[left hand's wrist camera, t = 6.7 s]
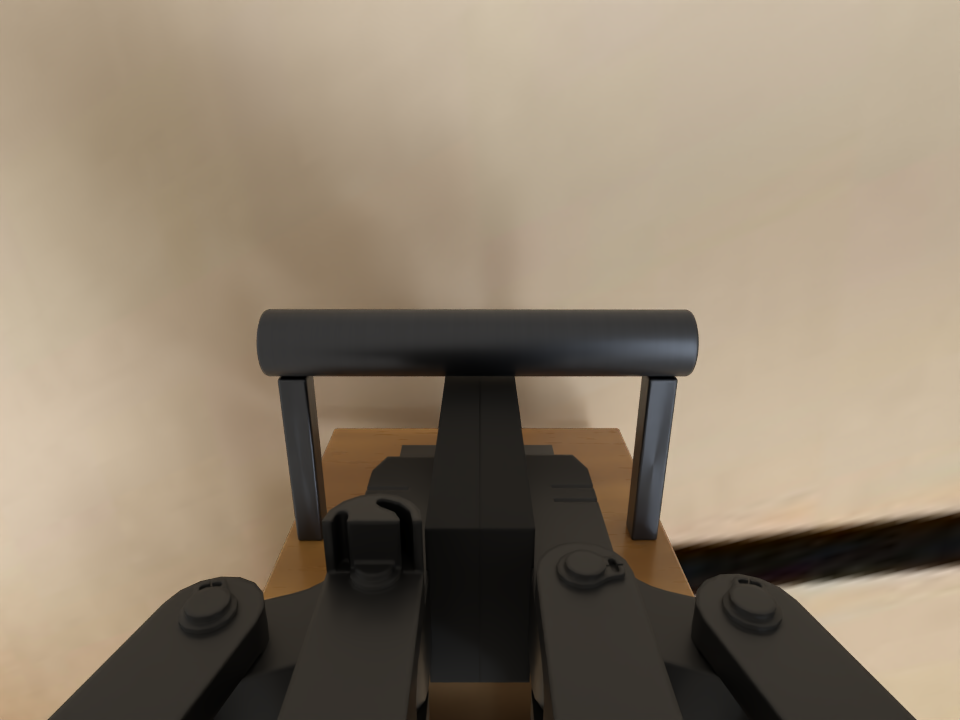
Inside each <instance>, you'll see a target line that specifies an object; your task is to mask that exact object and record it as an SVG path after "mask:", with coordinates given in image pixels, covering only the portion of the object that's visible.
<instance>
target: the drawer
mask: <svg viewBox="0 0 960 720" xmlns="http://www.w3.org/2000/svg"><path fill="white" fill-rule="evenodd" d="M698 347H699V337H698V329H697V324H696V320H695V318H694V315H693V314H692V313H691V312H690V311H688V310H392V309H269V310H266V311H264V312H263V314H262V315H261V318H260V321H259V324H258V330H257V354H258V360H259V364H260V367H261V369H262V371H263V373H264V374H266V375H268V376H280V378H279V379H278V386H279V394H280V402H281V410H282V418H283V426H284V434H285V442H286V449H287V457H288V465H289V473H290V481H291V489H292V497H293V505H294V513H295V520H294V523H293V525H292V527H291V530H290V532H289V534H288V536H287V539H286V541H285V543H284V545H283V548H282V550H281V552H280V554H279V557H278V559H277V561H276V564H275V566H274V568H273V570H272V573H271V575H270V577H269V579H268V582H267V584H266V586H265V589H264V591H263V595H264V600H266V599H270V598H275V597H279V596H283V595H288V594H292V593H296V592H299V591H302V590H305V589H308V588H311V587H313V586H315V585H317V584H319V583H321V582H323V581H324V579H325V576H326V573H327V570H326V560H325V551H324V541H323V532H322V522H321V521H322V520H323V518H324V517H325V516H326V514H327V513H328V511H329V510H330V509H332V508H334V507H335V506H337V505H338V504H340V503H341V502H343V501H345V500H348V499H351V498H354V497H357V496H360V495H365V492H366V490H367V486H368V483H369V479H370V476H371V473H372V470H373V469H374V468H376V467H377V466H378V465H379V464H380V463H381V462H382V461H383V460H384V459H385V458H386V457H387V456H435V449H436V442H437V434H438V428H337V429H335V430H334V432H333V434H332V436H331V439H330V441H329V443H328V445H327V448H326V450H325V452H324V455H323V457H322V459H321V449H320V439H319V430H318V420H317V410H316V401H315V391H314V381H313V376H642V382H641V391H640V400H639V410H638V419H637V428H636V438H635V447H634V456H633V459H632V457H631V455H630V453H629V450H628V448H627V446H626V444H625V442H624V439H623V437H622V435H621V433H620V430H619V429H617V428H522V435H523V442H524V450H525V455H574V456H575V457H576V458H577V459H578V460H579V461H580V462H581V463H582V464H583V465H584V466H586V467H587V468H588V471H589V474H590V477H591V480H592V484H593V488H594V490H595V493H596V496H597V502H598V503H599V506H600V509H601V512H602V516H603V519H604V522H605V525H606V528H607V532H608V535H609V538H610V541H611V544H612V548H613V551H614V552H616V553H617V554H618V555H620V556H621V557H622V558H624V559H625V560H626V561H627V563H628V564H629V566H630V568H631V569H632V571H633V573H634V576H635V578H637V579H638V580H640V581H642V582H644V583H646V584H648V585H651V586H653V587H656V588H660V589H663V590H666V591H670V592H675V593H679V594H683V595H688V596H692V597H694V594H693V592H692V590H691V588H690V586H689V583H688V581H687V579H686V577H685V574H684V572H683V570H682V568H681V566H680V563H679V561H678V559H677V557H676V555H675V552H674V550H673V548H672V546H671V543H670V541H669V539H668V537H667V535H666V532H665V530H664V528H663V526H662V524H661V521H660V512H661V504H662V496H663V488H664V481H665V473H666V465H667V458H668V450H669V442H670V435H671V427H672V419H673V412H674V404H675V396H676V389H677V378H676V377H675V376H688V375H690V374H691V373H692V371H693V370H694V367H695V365H696V361H697V356H698ZM531 689H532V686H531V676H530V683H479V682H430V678H429V715H430V716H429V720H530V715H531Z"/></svg>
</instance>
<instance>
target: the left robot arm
mask: <svg viewBox="0 0 960 720" xmlns="http://www.w3.org/2000/svg"><path fill="white" fill-rule="evenodd" d="M321 522H322V532H323V541H324V551H325V560H326V570H327V573H326V576H325V579H324V581H323V582H321V583H319V584H317V585H315V586H313V587H311V588H308V589H305V590H302V591H299V592H296V593H292V594H288V595H283V596H279V597H275V598H270V599H266V600H264V595H263V592H262V591H261V590H260V588H259V587H258V586H257V585H256V584H255V583H254V582H251V581H249V580H246V579H243V578H241V577H218V578H213V579H208V580H204V581H200V582H198V583H196V584H193V585H191V586H189V587H187V588H185V589H182V590H180V591H179V592H178V593H176V594H175V595H174V596H173V597H171V598H170V599H169V600H167V601H166V602H165V603H164V604H163V605H162V606H161V607H160V608H159V609H158V610H157V611H156V612H155V613H154V614H153V615H152V616H151V617H150V618H149V619H148V620H147V621H146V622H145V623H144V624H143V625H142V626H141V627H140V628H139V629H138V630H137V631H136V632H135V633H134V634H133V635H132V636H131V637H130V638H129V639H128V640H127V641H126V642H125V643H124V644H123V645H122V646H121V647H120V648H119V649H118V650H117V651H116V652H115V653H114V654H113V655H112V656H111V657H110V658H109V659H108V660H107V661H106V662H105V663H104V664H103V665H102V666H101V667H100V668H99V669H98V670H97V671H96V672H95V673H94V674H93V675H92V676H91V677H90V678H89V679H88V680H87V681H86V682H85V683H84V684H83V685H82V686H81V687H80V688H79V689H78V690H77V691H76V692H75V693H74V694H73V695H72V696H71V697H70V698H69V699H68V700H67V701H66V702H65V703H64V704H63V705H62V706H61V707H60V708H59V709H58V710H57V711H56V712H55V713H54V714H53V715H52V716H51V717H50V718H49V719H48V720H429V716H430V715H429V678H430V682H479V683H530V676H531V686H532V689H531V715H530V720H916V719H915V718H914V717H913V716H912V715H911V714H910V713H909V712H908V711H907V710H906V709H905V708H904V707H903V706H902V705H901V704H900V703H899V702H898V701H897V700H896V699H895V698H894V697H893V696H892V695H891V694H890V693H889V692H888V691H887V690H886V689H885V688H884V687H883V686H882V685H881V684H880V683H879V682H878V681H877V680H876V679H875V678H874V677H873V676H872V675H871V674H870V673H869V672H868V671H867V670H866V669H865V668H864V667H863V666H862V665H861V664H860V663H859V662H858V661H857V660H856V659H855V658H854V657H853V656H852V655H851V654H850V653H849V652H848V651H847V650H846V649H845V648H844V647H843V646H842V645H841V644H840V643H839V642H838V641H837V640H836V639H835V638H834V637H833V636H832V635H831V634H830V633H829V632H828V631H827V630H826V629H825V628H824V627H823V626H822V625H821V624H820V623H819V622H818V621H817V620H816V619H815V618H814V617H813V616H812V615H811V614H810V613H809V612H808V611H807V610H806V609H805V608H804V607H803V606H802V605H801V604H800V603H799V602H798V601H797V600H796V599H794V598H793V597H792V596H790V595H789V594H788V593H786V592H785V591H784V590H782V589H781V588H780V587H777V586H775V585H773V584H771V583H769V582H766V581H764V580H762V579H760V578H755V577H750V576H746V575H741V574H724V575H718V576H715V577H713V578H710V579H707V580H705V581H704V583H703V584H702V585H701V586H700V587H699V588H698V590H697V594H696V597H692V596H688V595H683V594H679V593H675V592H670V591H666V590H663V589H660V588H656V587H653V586H651V585H648V584H646V583H644V582H642V581H640V580H638V579H637V578H635V576H634V573H633V571H632V569H631V568H630V566H629V564H628V563H627V561H626V560H625V559H624V558H622V557H621V556H620V555H618V554H617V553H616V552H614V551H613V548H612V544H611V541H610V538H609V535H608V532H607V528H606V525H605V522H604V519H603V516H602V512H601V509H600V506H599V503H598V502H597V496H596V493H595V490H594V488H593V484H592V480H591V477H590V474H589V471H588V468H587V467H586V466H584V465H583V464H582V463H581V462H580V461H579V460H578V459H577V458H576V457H575V456H574V455H525V450H524V442H523V435H522V428H521V420H520V413H519V406H518V398H517V391H516V384H515V376H445V383H444V390H443V398H442V405H441V412H440V420H439V427H438V434H437V442H436V449H435V456H387V457H386V458H385V459H384V460H383V461H382V462H381V463H380V464H379V465H378V466H377V467H376V468H374V469H373V470H372V473H371V476H370V479H369V483H368V486H367V490H366V492H365V495H360V496H357V497H354V498H351V499H348V500H345V501H343V502H341V503H340V504H338V505H337V506H335V507H334V508H332V509H330V510H329V511H328V513H327V514H326V516H325V517H324V518H323V520H322V521H321Z"/></svg>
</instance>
